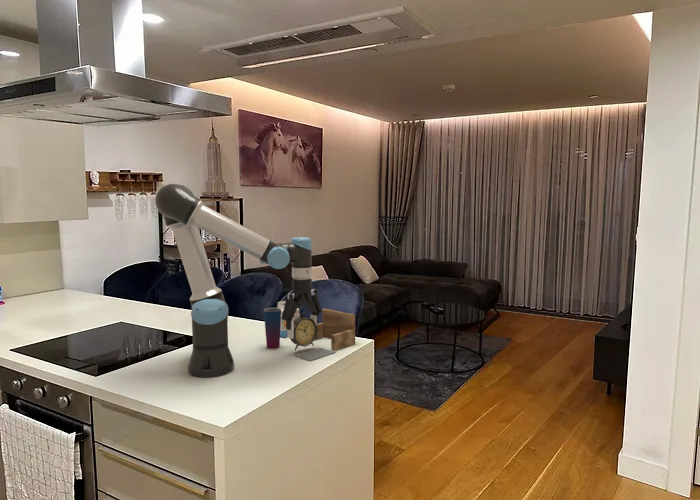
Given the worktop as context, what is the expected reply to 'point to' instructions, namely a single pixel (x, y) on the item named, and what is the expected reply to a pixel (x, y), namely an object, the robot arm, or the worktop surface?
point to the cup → (272, 327)
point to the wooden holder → (337, 328)
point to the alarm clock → (304, 331)
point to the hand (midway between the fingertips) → (302, 334)
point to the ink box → (283, 323)
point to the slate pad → (315, 354)
